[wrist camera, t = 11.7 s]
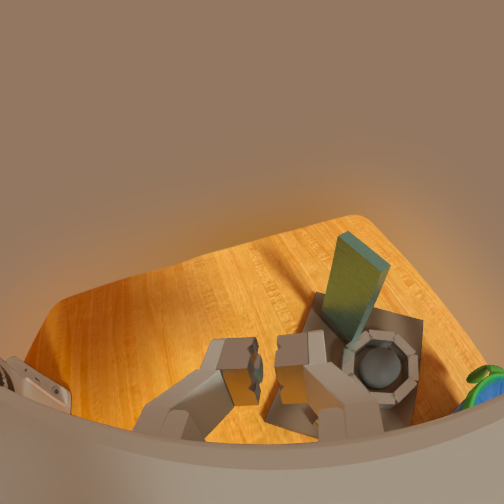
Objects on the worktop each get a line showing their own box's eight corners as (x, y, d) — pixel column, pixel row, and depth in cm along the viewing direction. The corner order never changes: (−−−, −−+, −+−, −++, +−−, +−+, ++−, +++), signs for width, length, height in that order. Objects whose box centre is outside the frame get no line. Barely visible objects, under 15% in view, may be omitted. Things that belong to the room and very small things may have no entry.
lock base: (264, 421, 29) (264, 415, 27) (315, 296, 42) (318, 282, 40) (400, 455, 23) (411, 451, 21) (420, 324, 36) (428, 312, 34)
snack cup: (468, 498, 16) (521, 486, 9) (403, 492, 19) (450, 486, 13) (488, 395, 26) (532, 360, 19) (433, 382, 29) (473, 343, 23)
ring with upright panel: (320, 310, 38) (337, 229, 29) (409, 320, 36) (449, 247, 26) (307, 401, 29) (330, 343, 19) (412, 408, 26) (478, 354, 17)
